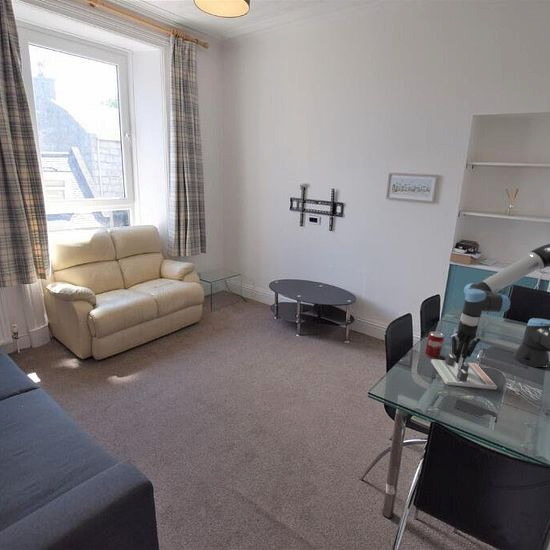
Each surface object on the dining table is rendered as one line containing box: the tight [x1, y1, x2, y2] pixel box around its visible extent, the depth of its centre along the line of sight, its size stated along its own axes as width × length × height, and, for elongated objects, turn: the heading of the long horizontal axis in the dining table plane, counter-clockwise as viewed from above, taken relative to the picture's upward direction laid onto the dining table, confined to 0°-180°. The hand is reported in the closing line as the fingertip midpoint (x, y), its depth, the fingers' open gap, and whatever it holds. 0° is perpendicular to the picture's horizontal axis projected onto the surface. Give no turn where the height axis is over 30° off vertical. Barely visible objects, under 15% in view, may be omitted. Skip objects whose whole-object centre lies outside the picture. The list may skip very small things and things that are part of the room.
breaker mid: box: [461, 362, 469, 373], centre depth 174 cm, size 3×3×4 cm
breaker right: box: [457, 369, 468, 381], centre depth 167 cm, size 3×3×4 cm
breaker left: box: [445, 353, 456, 365], centre depth 180 cm, size 3×3×4 cm
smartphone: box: [453, 398, 497, 418], centre depth 148 cm, size 7×1×15 cm
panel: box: [430, 358, 498, 390], centre depth 174 cm, size 22×20×2 cm
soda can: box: [424, 331, 445, 360], centre depth 189 cm, size 7×7×12 cm
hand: (457, 368), depth 174 cm, fingers closed
